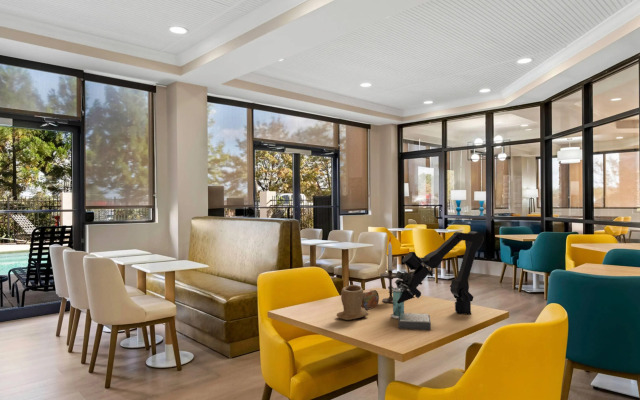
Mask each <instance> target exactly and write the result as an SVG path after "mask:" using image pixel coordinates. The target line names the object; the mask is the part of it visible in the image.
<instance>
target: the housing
mask: <svg viewBox="0 0 640 400" xmlns="http://www.w3.org/2000/svg"><path fill="white" fill-rule="evenodd" d="M403 290H404V288H397V287H393V288H392V292H393V293H392V297H393V304H392V313H391V314H390V315H391V318H392V319H395V320H399V314H400V313H405V301H404V302H402V303H400V304H398V303H397V301H398V300H399V298H400V297H401V295H402V294H403Z"/></svg>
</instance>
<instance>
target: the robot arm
mask: <svg viewBox="0 0 640 400" xmlns="http://www.w3.org/2000/svg"><path fill="white" fill-rule="evenodd" d="M484 240H485V237H484V234H483V233H482V232H479V231H469V232H462V231H455V232H454V233H453V234H452V235H451V236H450V237H449V238H448V239H446V240H445V241H444V242H443V243H442V244H441V245H440V246H439V247H437V249H435V250H432V251H430V252H428V253H427V254H425V255H424V256H423V257H419V256H418V255H417V254H416V253H415V251H411V252H410V253H408V254H407V255H405V256H403V258H402V260H401V261H402V263H403V264H404V265H405V266H406V267H408V269H409V270H410V271H412V270H413V271H412V273H409V272H407V271H404V272H401V271H399V270H397V271H396V273H397V274H396V276H395V277H396V278H395V279H396V280H395V281H394V283H395V284H396V288H404V290H403V294H402V295H401V297H400V298H399V300H398V301H397V303H398V304H400V303H402V302H404V303H405V302H406V301H409V300H412V299H415V298H417V299H420V298H421V296H422V292H421V291H420V290H419V289H418V287H419V286H422V285H423V281H424V280H425V279H426V278H427V276H430V277H433V276H434V273H433V270H432V269H436V268H438V267H439V265H440V264H441V263H442V262H443V259H444V258H445V256H446V255H447V254H448V253H450V252H451V251H452V249H453V250H454V248H455V247H456V246H457V245H458V244H459V243H461V242H462V241H464V243H465V251H464V254H463V258H462V262H461V265H460V268H459V271H458V275H457V277H456V278H455V279H454V278H452V279H451V282H450V283H451V284H450V285H449V288H450V289H449V290H450V292H451V294H452V295H453V297H454V299H455V302H454V310H455V311H454V312H456V314H458V315H459V314H460V315H472V310H471V309H472V308H471V307H472V305H471V304H472V303H471V302H473V301H474V296H473V295H472V293H471V292H469V289H470V285H469V278H470V273H471V271H472V267H473V264H474V261H475V256H476V255H477V251H478V250H479V249H480V248H481V247H482V245H483V242H484ZM429 268H430V269H429Z"/></svg>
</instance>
